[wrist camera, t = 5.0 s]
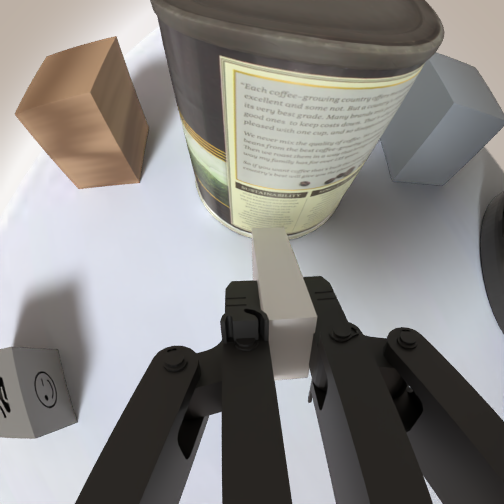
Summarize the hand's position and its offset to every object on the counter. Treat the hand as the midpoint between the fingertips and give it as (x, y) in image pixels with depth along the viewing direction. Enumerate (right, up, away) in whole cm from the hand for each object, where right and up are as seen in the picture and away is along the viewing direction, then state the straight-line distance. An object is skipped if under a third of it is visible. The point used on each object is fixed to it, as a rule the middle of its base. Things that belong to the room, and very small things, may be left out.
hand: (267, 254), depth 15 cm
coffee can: (+1, +5, +6) cm, 8 cm away
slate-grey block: (+12, +8, +7) cm, 16 cm away
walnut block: (-11, +7, +6) cm, 14 cm away
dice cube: (-15, -9, +1) cm, 18 cm away
